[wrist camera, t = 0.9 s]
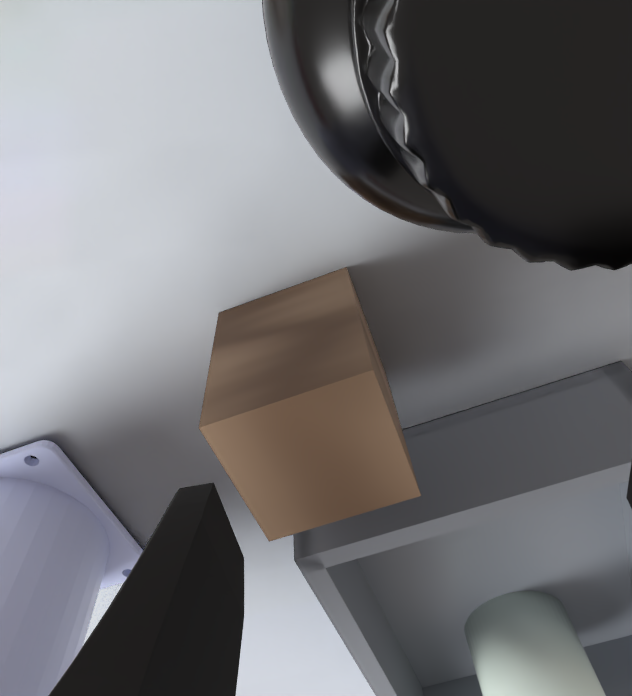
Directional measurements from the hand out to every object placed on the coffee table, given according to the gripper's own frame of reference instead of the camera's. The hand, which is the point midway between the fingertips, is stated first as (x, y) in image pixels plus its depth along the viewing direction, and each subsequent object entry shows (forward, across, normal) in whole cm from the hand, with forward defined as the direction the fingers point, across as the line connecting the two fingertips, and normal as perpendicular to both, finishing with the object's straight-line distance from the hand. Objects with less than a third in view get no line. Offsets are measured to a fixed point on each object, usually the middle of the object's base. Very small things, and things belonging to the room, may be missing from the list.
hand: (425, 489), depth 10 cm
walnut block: (+10, +2, +3) cm, 11 cm away
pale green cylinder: (+9, -4, +20) cm, 23 cm away
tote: (+10, -4, +16) cm, 19 cm away
